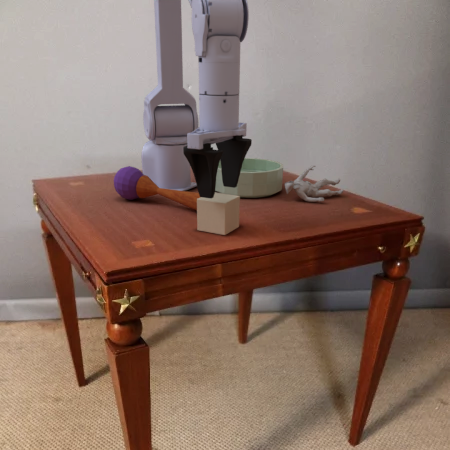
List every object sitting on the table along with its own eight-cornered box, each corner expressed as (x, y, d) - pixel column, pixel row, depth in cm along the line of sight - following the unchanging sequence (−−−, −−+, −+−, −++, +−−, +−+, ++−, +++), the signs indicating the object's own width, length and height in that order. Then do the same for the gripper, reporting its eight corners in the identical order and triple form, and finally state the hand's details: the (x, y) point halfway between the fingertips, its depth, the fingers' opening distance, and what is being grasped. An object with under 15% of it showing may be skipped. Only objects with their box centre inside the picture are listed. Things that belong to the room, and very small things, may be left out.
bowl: (199, 193, 99) (199, 167, 97) (232, 179, 110) (232, 155, 107) (264, 202, 93) (265, 175, 91) (291, 187, 104) (293, 162, 102)
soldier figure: (348, 204, 96) (305, 192, 89) (329, 217, 100) (287, 206, 93) (338, 170, 98) (296, 156, 91) (320, 184, 102) (278, 171, 95)
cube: (197, 230, 79) (196, 198, 76) (212, 222, 83) (212, 191, 80) (224, 235, 77) (225, 203, 74) (239, 226, 81) (240, 195, 78)
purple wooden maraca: (194, 194, 82) (104, 170, 90) (196, 226, 86) (110, 200, 94) (214, 180, 86) (125, 159, 94) (215, 212, 90) (130, 188, 98)
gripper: (219, 99, 63) (219, 206, 70) (265, 92, 74) (261, 185, 81) (172, 96, 66) (176, 199, 72) (224, 90, 77) (223, 180, 84)
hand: (218, 191), depth 77 cm, fingers open, 7 cm apart
